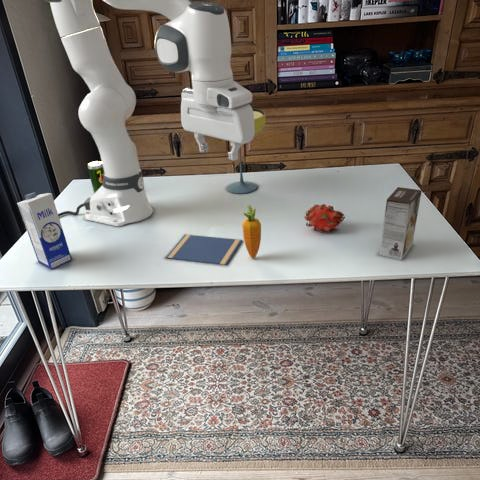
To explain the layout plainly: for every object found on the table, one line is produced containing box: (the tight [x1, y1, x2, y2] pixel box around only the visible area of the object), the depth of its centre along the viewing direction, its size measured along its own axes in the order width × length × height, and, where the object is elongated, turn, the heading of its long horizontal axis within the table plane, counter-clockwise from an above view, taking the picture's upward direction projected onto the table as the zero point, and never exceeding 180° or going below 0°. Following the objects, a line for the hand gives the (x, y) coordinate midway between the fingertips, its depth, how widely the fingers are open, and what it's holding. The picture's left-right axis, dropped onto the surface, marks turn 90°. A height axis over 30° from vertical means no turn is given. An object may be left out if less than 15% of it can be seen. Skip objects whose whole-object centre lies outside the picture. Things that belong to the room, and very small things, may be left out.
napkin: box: [165, 234, 243, 266], centre depth 136 cm, size 18×14×1 cm
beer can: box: [87, 160, 104, 194], centre depth 169 cm, size 5×5×12 cm
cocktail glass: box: [226, 107, 267, 195], centre depth 164 cm, size 18×18×25 cm
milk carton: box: [16, 192, 73, 270], centre depth 130 cm, size 7×7×20 cm
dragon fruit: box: [304, 203, 346, 234], centre depth 140 cm, size 8×8×12 cm
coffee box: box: [379, 186, 423, 261], centre depth 125 cm, size 9×6×16 cm
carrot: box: [241, 204, 262, 260], centre depth 126 cm, size 5×5×15 cm
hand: (218, 155), depth 112 cm, fingers open, 8 cm apart
